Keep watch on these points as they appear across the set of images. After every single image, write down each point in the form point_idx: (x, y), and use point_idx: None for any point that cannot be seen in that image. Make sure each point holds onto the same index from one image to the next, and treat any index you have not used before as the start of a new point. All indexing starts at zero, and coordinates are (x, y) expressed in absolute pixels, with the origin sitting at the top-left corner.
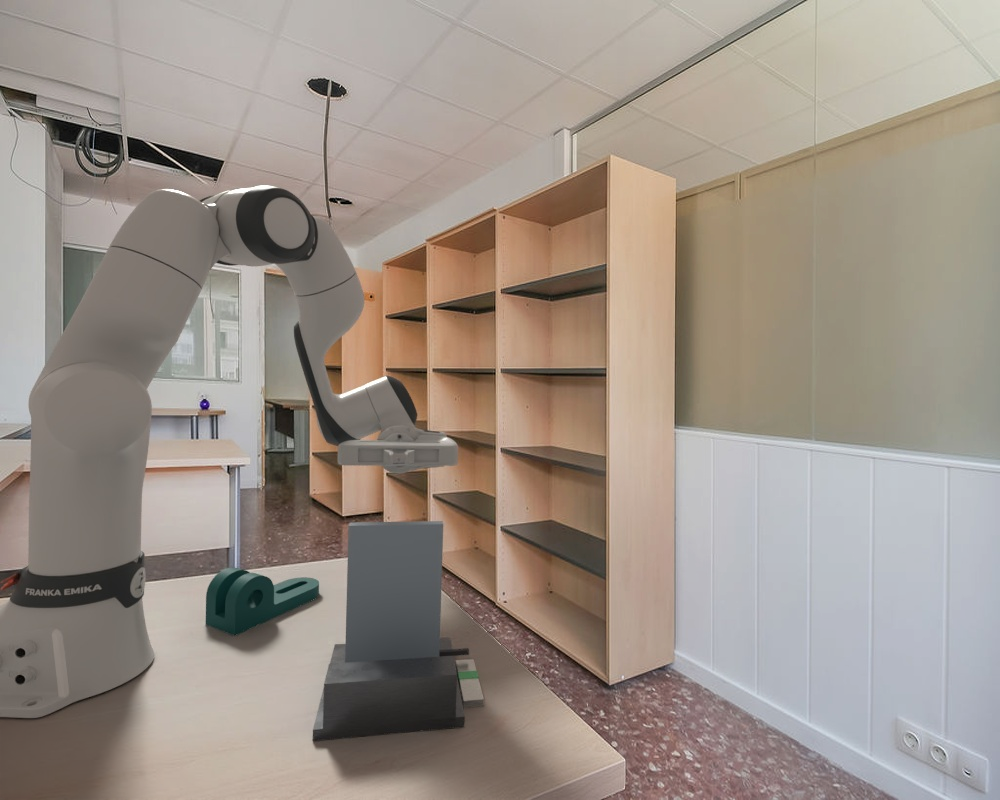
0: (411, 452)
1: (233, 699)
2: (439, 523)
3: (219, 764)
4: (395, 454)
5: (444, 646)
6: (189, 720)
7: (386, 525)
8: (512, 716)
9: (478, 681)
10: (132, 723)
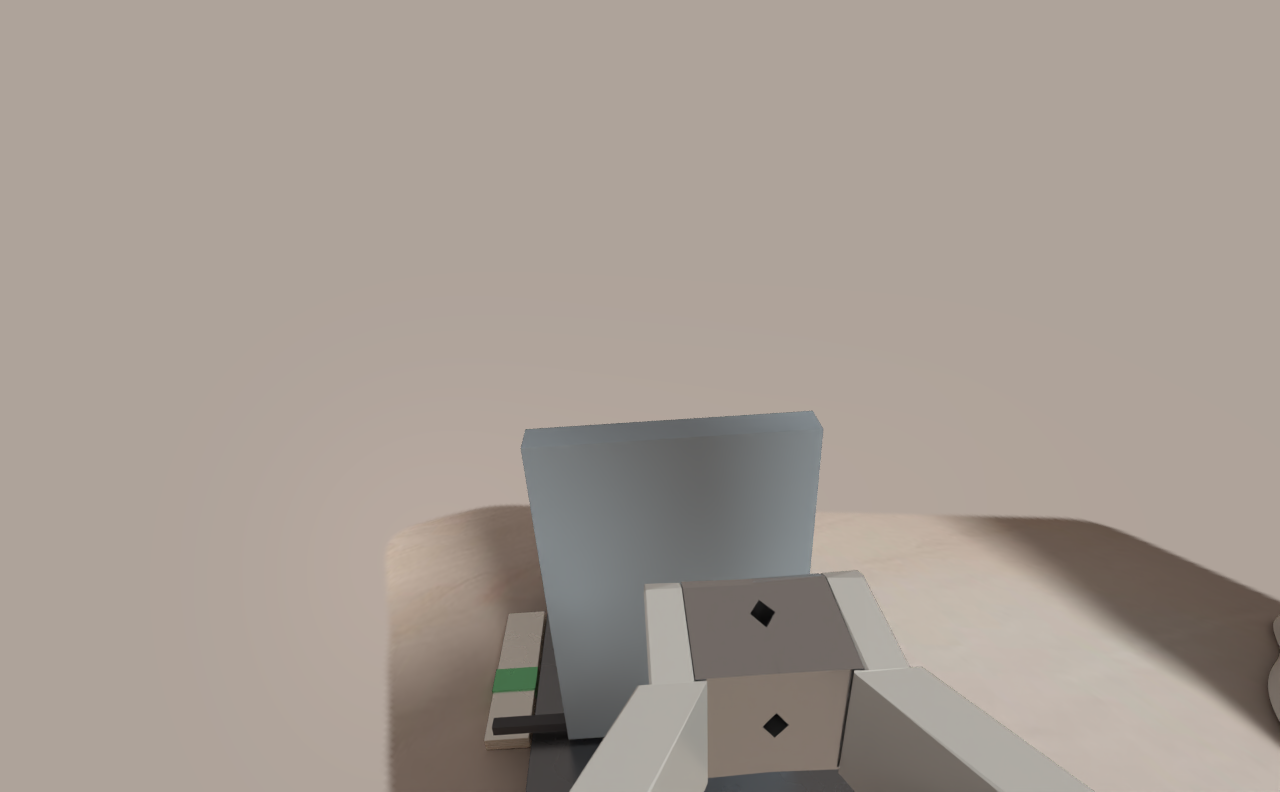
0: (596, 755)
1: (976, 656)
2: (536, 432)
3: (877, 541)
4: (794, 579)
5: (545, 788)
6: (1002, 610)
7: (700, 419)
8: (472, 600)
9: (501, 659)
10: (1092, 607)
